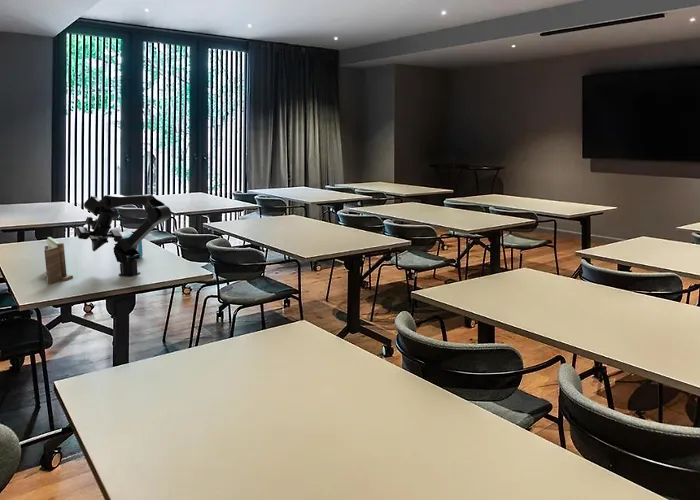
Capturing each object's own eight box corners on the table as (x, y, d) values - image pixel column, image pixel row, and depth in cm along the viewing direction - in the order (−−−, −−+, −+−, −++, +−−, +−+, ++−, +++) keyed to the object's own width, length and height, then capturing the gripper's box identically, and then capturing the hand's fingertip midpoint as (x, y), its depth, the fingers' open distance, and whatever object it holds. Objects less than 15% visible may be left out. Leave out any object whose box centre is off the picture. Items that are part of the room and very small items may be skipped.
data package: (132, 262, 270) (130, 237, 267) (122, 262, 270) (121, 237, 268) (143, 257, 282) (141, 233, 279) (134, 257, 282) (132, 233, 279)
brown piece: (73, 278, 239) (69, 242, 236) (54, 284, 228) (50, 247, 226) (62, 277, 240) (59, 242, 237) (43, 284, 229) (39, 247, 226)
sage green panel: (53, 265, 255) (50, 236, 253) (64, 274, 239) (61, 244, 236) (45, 266, 253) (42, 237, 251) (56, 275, 237) (53, 244, 234)
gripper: (119, 213, 257) (108, 242, 262) (76, 208, 243) (66, 238, 248) (127, 226, 250) (116, 256, 256) (84, 222, 237) (73, 253, 242)
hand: (93, 250), depth 251 cm, fingers closed
